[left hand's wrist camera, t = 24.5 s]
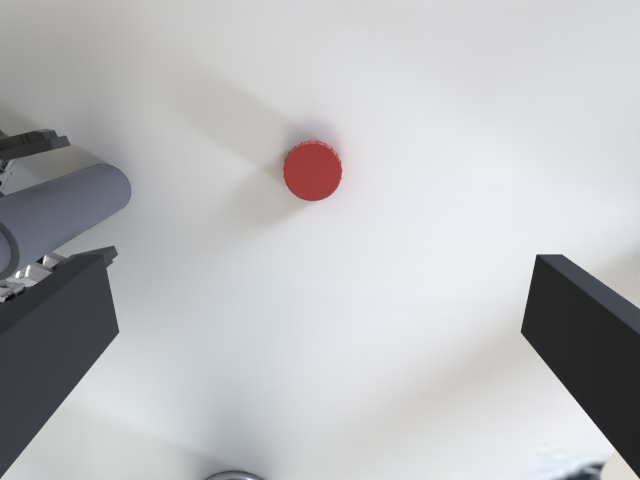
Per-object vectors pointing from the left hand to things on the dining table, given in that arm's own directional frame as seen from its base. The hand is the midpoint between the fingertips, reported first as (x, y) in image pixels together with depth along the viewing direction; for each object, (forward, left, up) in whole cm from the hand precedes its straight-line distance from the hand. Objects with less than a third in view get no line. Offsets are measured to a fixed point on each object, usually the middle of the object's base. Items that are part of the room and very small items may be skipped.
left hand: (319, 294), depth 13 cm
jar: (+9, -16, -23) cm, 30 cm away
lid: (+1, 0, -22) cm, 22 cm away
